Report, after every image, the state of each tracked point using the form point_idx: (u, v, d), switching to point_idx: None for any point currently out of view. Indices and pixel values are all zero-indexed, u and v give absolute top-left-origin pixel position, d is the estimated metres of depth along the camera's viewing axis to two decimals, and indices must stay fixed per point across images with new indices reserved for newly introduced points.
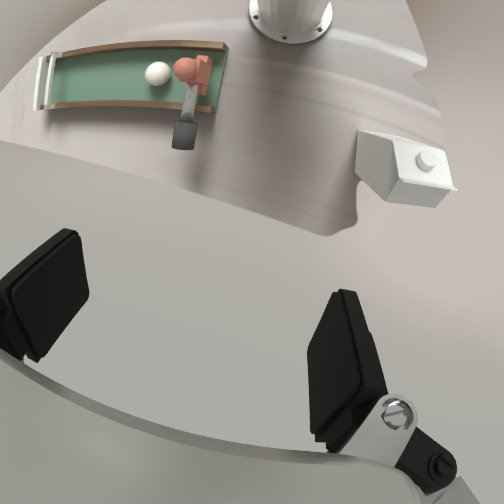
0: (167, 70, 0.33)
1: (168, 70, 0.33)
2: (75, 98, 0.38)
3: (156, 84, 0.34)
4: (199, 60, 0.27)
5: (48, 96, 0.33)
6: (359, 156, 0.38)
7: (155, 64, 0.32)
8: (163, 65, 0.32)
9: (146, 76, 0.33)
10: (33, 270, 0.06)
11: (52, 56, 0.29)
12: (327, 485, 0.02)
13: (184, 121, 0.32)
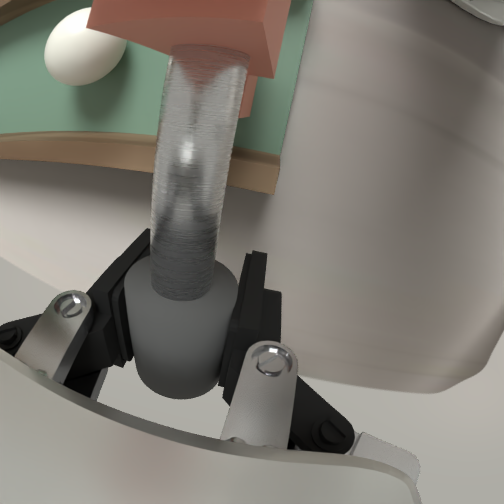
0: None
1: None
2: None
3: (76, 81, 0.08)
4: None
5: None
6: None
7: (72, 14, 0.06)
8: None
9: (45, 59, 0.07)
10: None
11: None
12: (327, 485, 0.02)
13: (171, 293, 0.06)
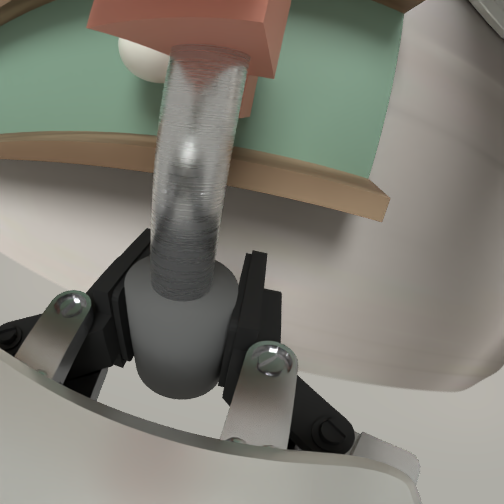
0: None
1: None
2: None
3: (163, 77, 0.08)
4: None
5: None
6: None
7: None
8: None
9: (122, 45, 0.07)
10: None
11: None
12: (327, 485, 0.02)
13: (171, 293, 0.06)
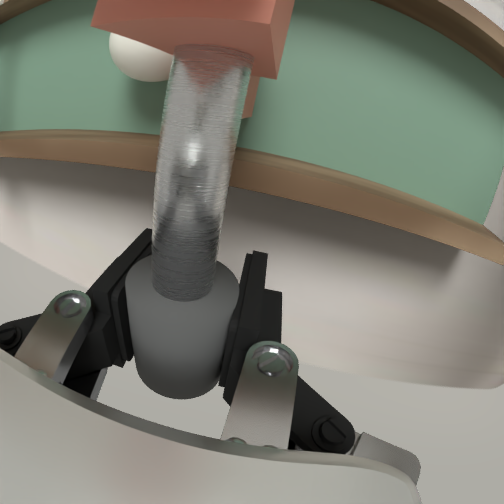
0: None
1: None
2: (35, 121, 0.12)
3: None
4: None
5: None
6: None
7: None
8: None
9: None
10: None
11: None
12: (327, 485, 0.02)
13: (172, 293, 0.06)
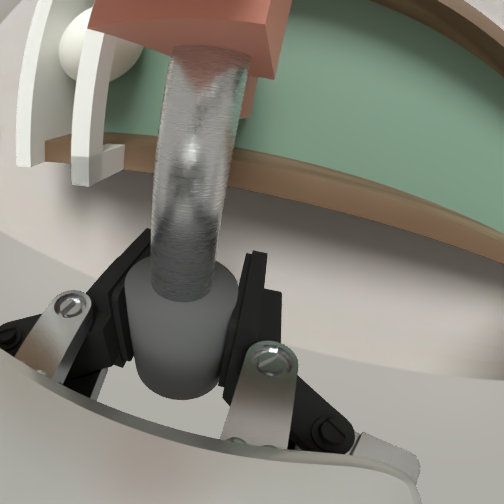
0: None
1: None
2: None
3: None
4: None
5: (95, 111, 0.07)
6: None
7: None
8: None
9: None
10: None
11: None
12: (327, 485, 0.02)
13: (172, 294, 0.06)
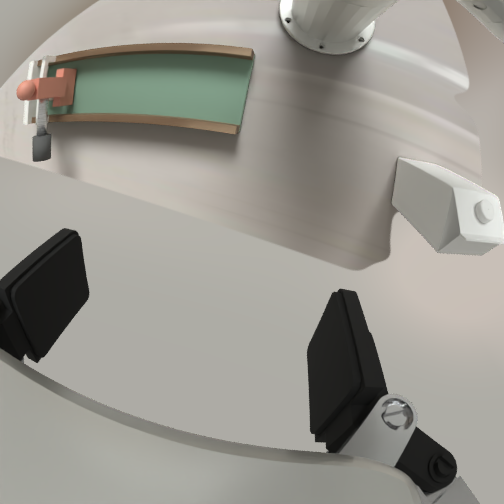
0: None
1: None
2: (71, 110, 0.33)
3: None
4: (39, 79, 0.22)
5: None
6: (400, 188, 0.33)
7: None
8: None
9: None
10: (33, 270, 0.06)
11: (44, 61, 0.24)
12: (327, 485, 0.02)
13: (38, 135, 0.27)
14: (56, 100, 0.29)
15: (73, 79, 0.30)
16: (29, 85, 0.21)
